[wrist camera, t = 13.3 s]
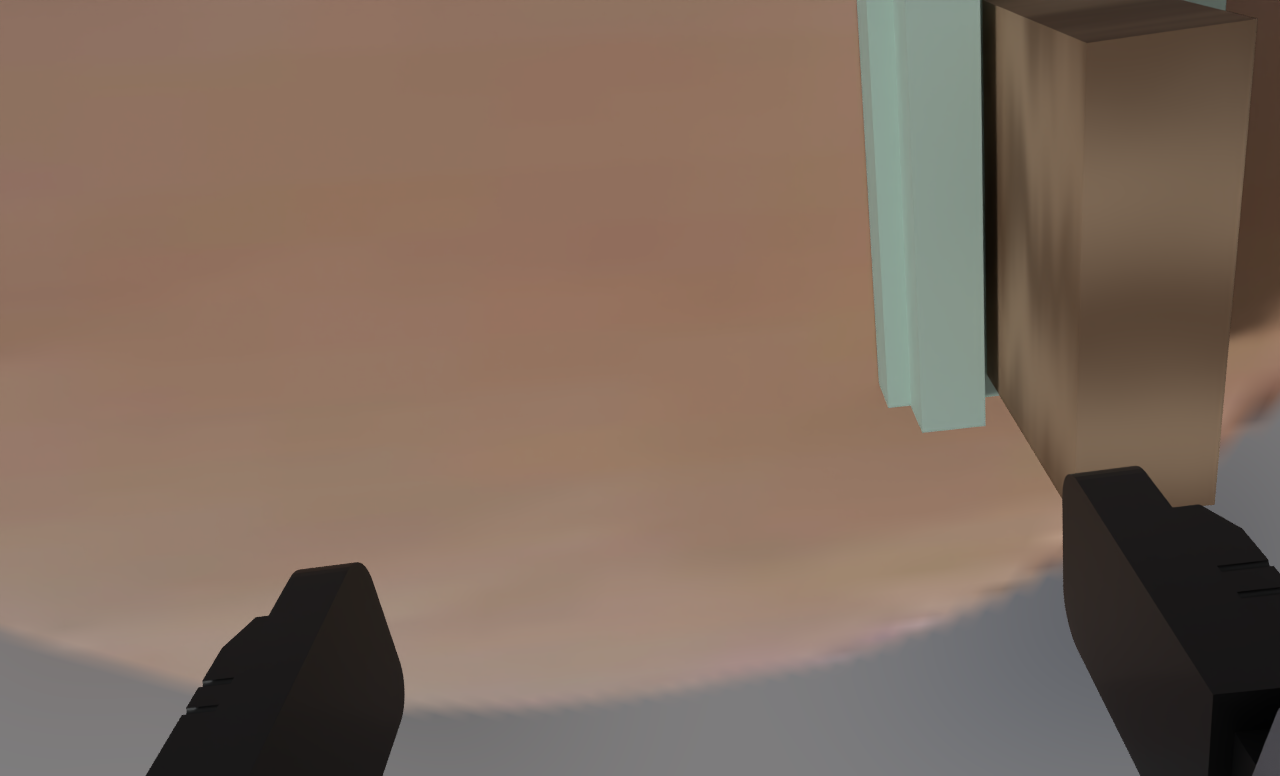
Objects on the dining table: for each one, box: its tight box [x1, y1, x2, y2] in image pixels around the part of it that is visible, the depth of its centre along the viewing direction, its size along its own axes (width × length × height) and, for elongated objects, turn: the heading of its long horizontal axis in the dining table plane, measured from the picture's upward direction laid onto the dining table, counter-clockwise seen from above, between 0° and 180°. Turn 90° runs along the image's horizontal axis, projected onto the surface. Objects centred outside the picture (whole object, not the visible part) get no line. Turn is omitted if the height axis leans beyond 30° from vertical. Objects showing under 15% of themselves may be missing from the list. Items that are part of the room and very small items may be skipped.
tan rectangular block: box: [982, 0, 1258, 507], centre depth 30 cm, size 12×4×9 cm, turn 8°
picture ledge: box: [857, 0, 1226, 433], centre depth 34 cm, size 14×10×4 cm
